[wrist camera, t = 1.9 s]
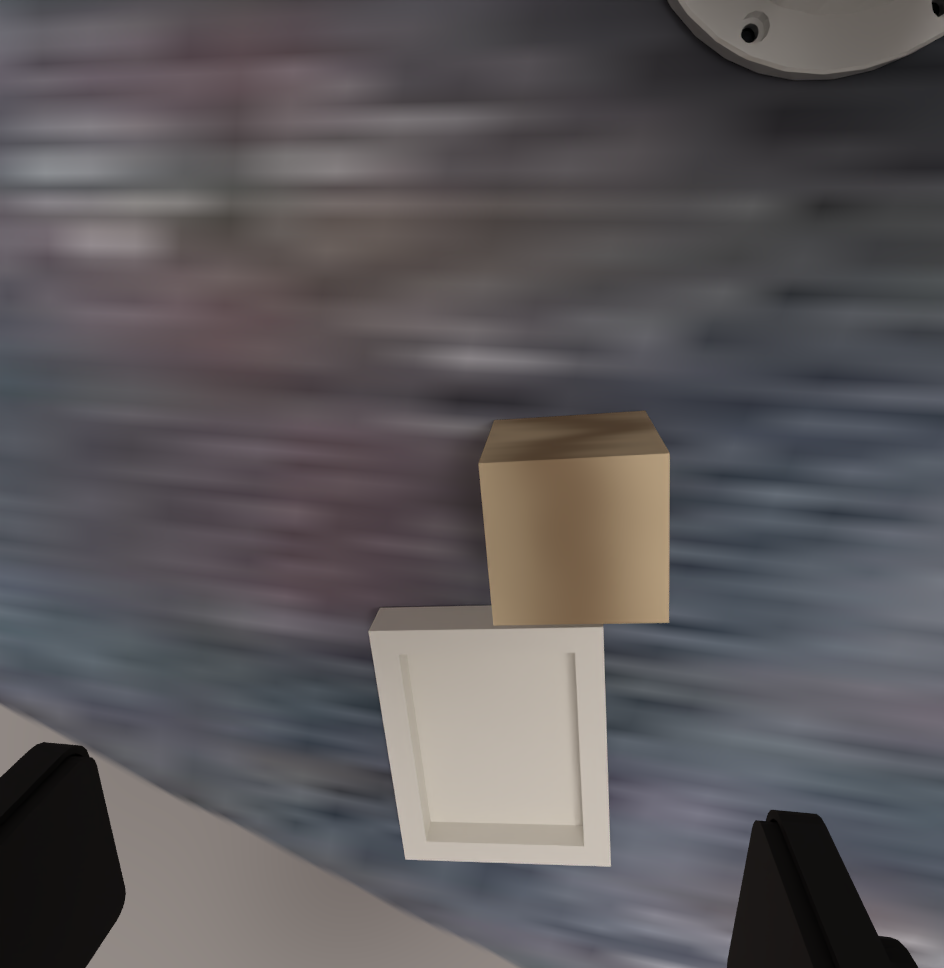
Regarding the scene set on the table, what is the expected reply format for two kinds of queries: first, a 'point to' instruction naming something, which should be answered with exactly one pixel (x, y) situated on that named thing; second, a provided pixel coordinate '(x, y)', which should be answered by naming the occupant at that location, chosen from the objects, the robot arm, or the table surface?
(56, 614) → the table surface
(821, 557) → the table surface
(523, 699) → the dish
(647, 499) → the oak cube
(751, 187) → the table surface
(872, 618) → the table surface
